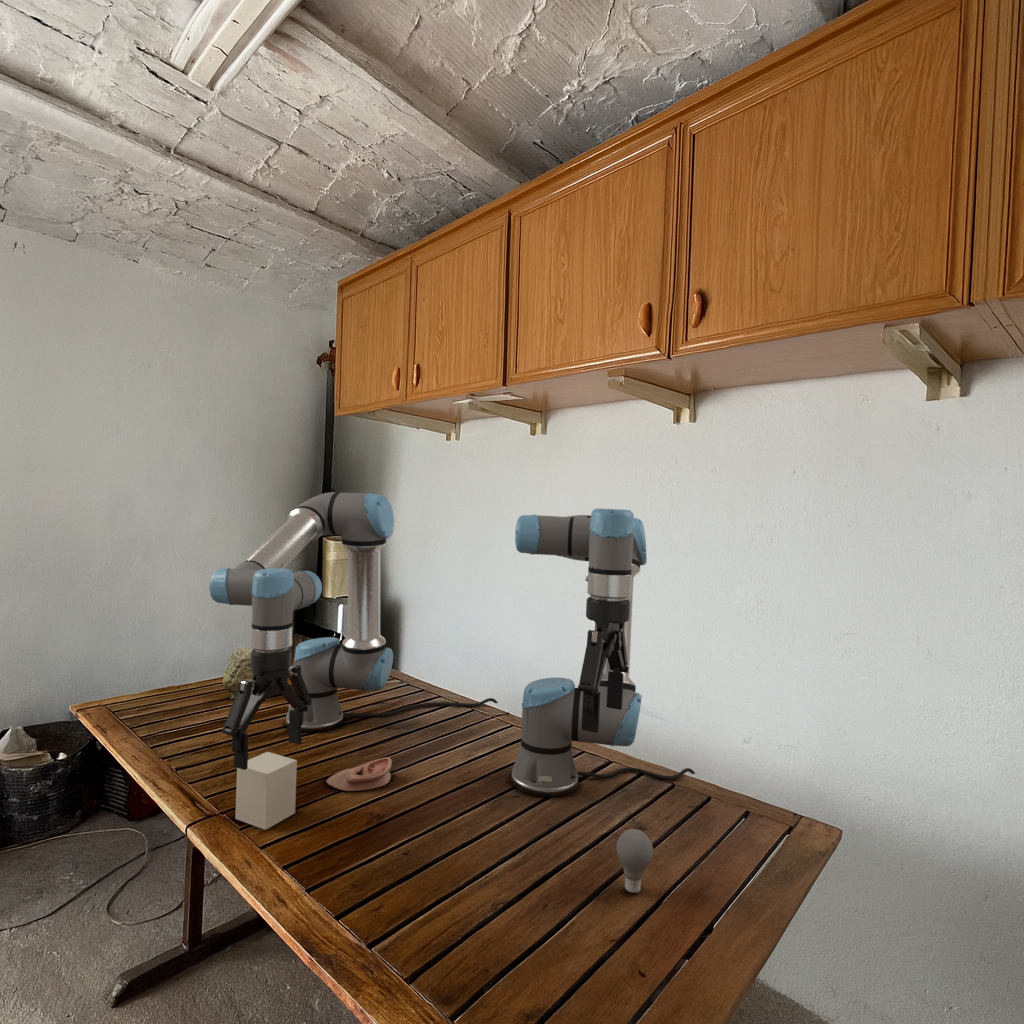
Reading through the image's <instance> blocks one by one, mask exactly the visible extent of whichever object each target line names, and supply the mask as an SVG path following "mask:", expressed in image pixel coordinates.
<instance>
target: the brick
mask: <svg viewBox="0 0 1024 1024" xmlns="http://www.w3.org/2000/svg"><path fill="white" fill-rule="evenodd" d="M297 771H298V760H297V759H294V758H291V757H287V756H284V755H280V754H278V753H275V752H271V751H266V752H263V753H261V754H258V755H257V756H254V757H251V758H250V759H249V758H248V769H245V770H243V769H239V768H236V789H235V790H236V791H235V813H234V814H235V817H234V818H235V820H237V821H240V822H243V823H245V824H249V825H251V826H254V827H257V828H259V829H262V830H264V831H265V830H268V829H270V828H271V827H273V826H276V825H277V824H279V823H281V822H283V821H284V820H285V819H287V818H289V817H291V816H292V815H294V814H296V801H297V800H296V799H297Z"/></svg>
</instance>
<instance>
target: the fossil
mask: <svg viewBox="0 0 1024 1024" xmlns="http://www.w3.org/2000/svg"><path fill="white" fill-rule="evenodd" d="M252 650H253V648H251V647H247V646H246V647H245V646H238V647H237V648H236V649H235V650H233V651H232V653H231V656H230V657H229V659H228V660H227V663H226V666H225V668H224V671H223V675H222V676H223V677H222V685H223V687H224V688H225V690H226V691H228V693H229V698H230V699H235V696H236V694H237V688H238V682H239V680H251V679H252V677H253V671H252V669H251V651H252ZM256 695H257V696H259V695H258V693H257V694H256Z"/></svg>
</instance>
